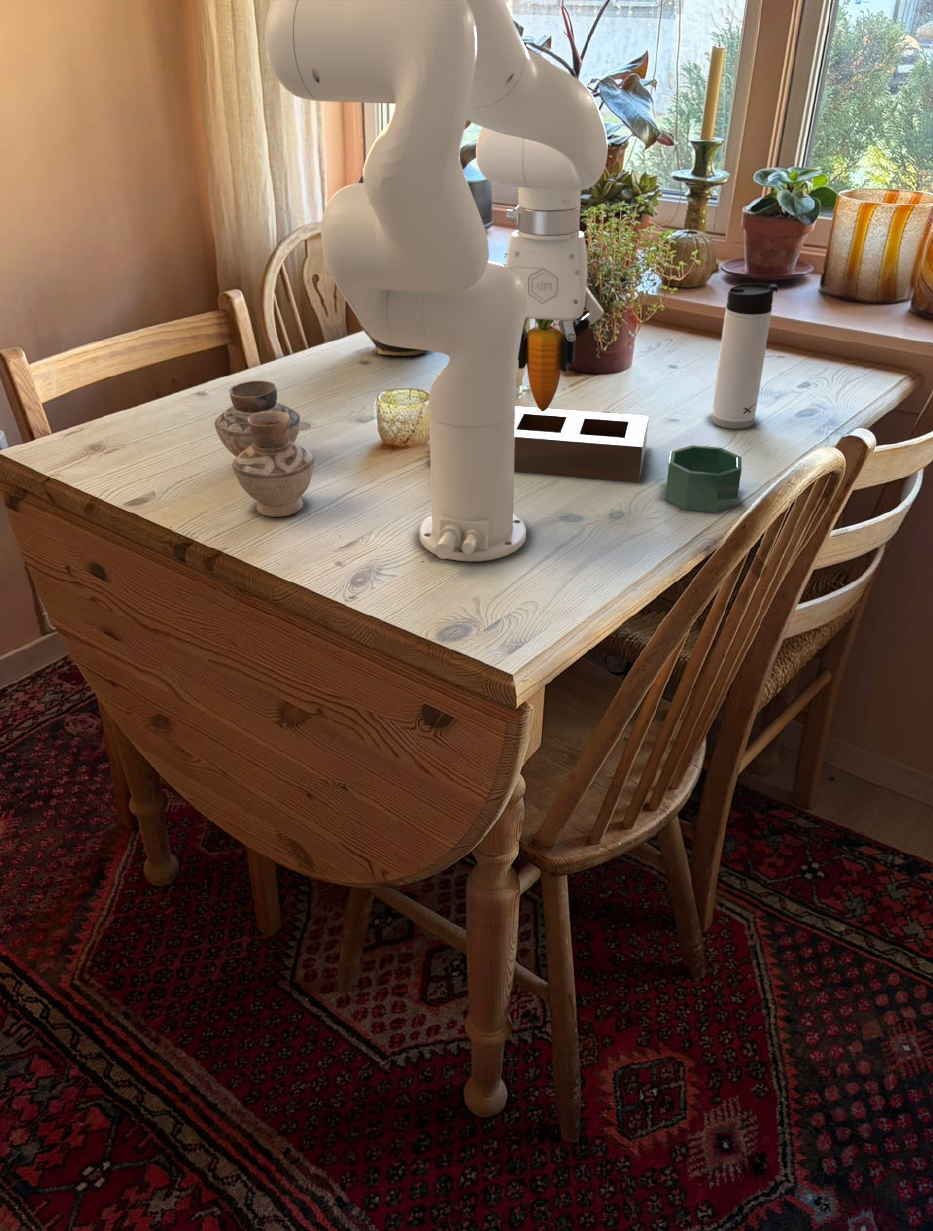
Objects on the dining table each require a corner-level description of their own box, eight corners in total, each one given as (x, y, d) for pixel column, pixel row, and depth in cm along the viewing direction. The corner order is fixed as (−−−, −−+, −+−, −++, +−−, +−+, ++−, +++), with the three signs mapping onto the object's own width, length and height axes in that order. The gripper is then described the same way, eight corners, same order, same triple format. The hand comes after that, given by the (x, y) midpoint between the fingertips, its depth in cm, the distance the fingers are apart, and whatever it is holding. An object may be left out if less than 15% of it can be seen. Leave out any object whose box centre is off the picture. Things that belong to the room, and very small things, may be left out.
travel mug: (757, 431, 144) (779, 291, 134) (711, 427, 145) (729, 289, 135) (755, 415, 149) (776, 280, 139) (710, 412, 151) (728, 277, 140)
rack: (639, 482, 130) (642, 446, 127) (432, 464, 135) (431, 430, 132) (645, 450, 139) (648, 416, 136) (451, 434, 144) (451, 401, 141)
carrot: (521, 416, 132) (523, 303, 124) (528, 403, 136) (530, 293, 128) (558, 419, 131) (562, 305, 123) (563, 406, 135) (568, 295, 127)
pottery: (241, 532, 119) (227, 438, 112) (216, 454, 139) (203, 371, 132) (333, 517, 122) (325, 425, 115) (296, 443, 142) (287, 361, 135)
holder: (736, 514, 122) (741, 477, 119) (663, 508, 123) (667, 471, 121) (736, 484, 129) (741, 449, 126) (667, 479, 130) (671, 443, 128)
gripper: (473, 225, 119) (474, 372, 129) (615, 230, 116) (605, 381, 125) (486, 212, 125) (486, 354, 135) (621, 217, 122) (611, 361, 132)
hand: (544, 365), depth 130 cm, fingers closed on carrot, 5 cm apart
